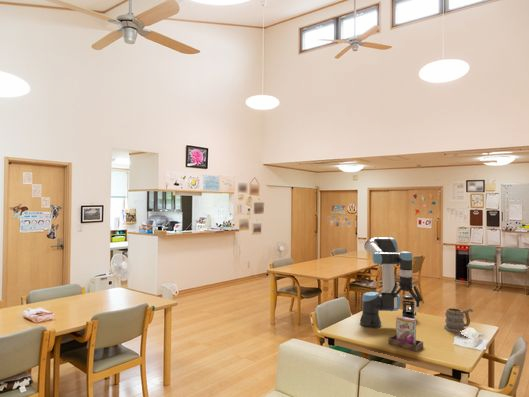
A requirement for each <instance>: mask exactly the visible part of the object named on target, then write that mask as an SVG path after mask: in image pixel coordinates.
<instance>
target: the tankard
mask: <svg viewBox="0 0 529 397" xmlns="http://www.w3.org/2000/svg"><path fill="white" fill-rule="evenodd" d="M470 312H471V313H473V312H474V310H473V309H472V308H470V307H469V308H466V309H465V310H464V309H463V310H462V309H460V308H456V307H448V308H446V312H445V317H446V318H445V323H446V325H443V329H445V330H447V331H448V332H451V333H461V332H460V331H462V330H464V329H465V330H466V327H469V326H470V324H471V319H470V316H469V314H470ZM464 318H465V319H466V322H465V320H464Z"/></svg>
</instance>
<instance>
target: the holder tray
mask: <svg viewBox="0 0 529 397" xmlns="http://www.w3.org/2000/svg"><path fill="white" fill-rule="evenodd" d="M387 341H388V342H387V343H388V344H389V345H391V346H395V347H399V348H401V349H404V350H405V349H406V350H409V351H412V352H419V351H420V350H422V349H423V348H424V341H422V340H418V339H416V345H412V344H408V343H405V342H401V341H398V340H396V334H394V335H392V336H389V337H388V339H387Z"/></svg>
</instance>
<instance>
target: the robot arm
mask: <svg viewBox="0 0 529 397" xmlns="http://www.w3.org/2000/svg"><path fill="white" fill-rule="evenodd" d="M364 250H365V251H366V252H367V253H368V254H370V255H371V256H372V257H371V260H372V263H373V264H375V265H381V273H382V274H381V276H382V290H381V291H380V293H379V292H377V291H368V292H365V293H363V294H362V314H361V316H360V319H359V324H360V326H362V327H366V328H371V329H373V328H380V327H381V326H382V320H381V318H380V313H379V312H397V311H398V310H399V309H400V308H401V307H400V306H401V296H400V293H401V292H402V291H403V292H406V293H408V291H409V294H410V295H412V296H413V298H414V300H415V301H414V304H415V305H414V313H415V312H416V313H418V311H419V307H420V302H423V297H422V296H421V293H420V292H419V289H418V285H417V284H415V285H413V253H412V252H411V251H406V250H405V251H400V252H399V248H398V243H397V240H396V239H395V237H389V236H388V237H377V236H376V237H371V238H368V239H367V240H366V241H365V243H364ZM395 265H399V282H398V281H395ZM398 287H399V288H398ZM397 289H398V290H397Z"/></svg>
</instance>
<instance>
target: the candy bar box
mask: <svg viewBox="0 0 529 397" xmlns="http://www.w3.org/2000/svg"><path fill="white" fill-rule="evenodd" d="M395 319H396V320H395V322H396V326H395V327H396V328H395V329H396V331H395V333H396V334H395V335H396V340H398V341H401V342H405V343H408V344H412V345H416V340H417V319H416V318H414V319H412V318H407V317H402V315H398V316H397V317H396V318H395Z"/></svg>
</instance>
